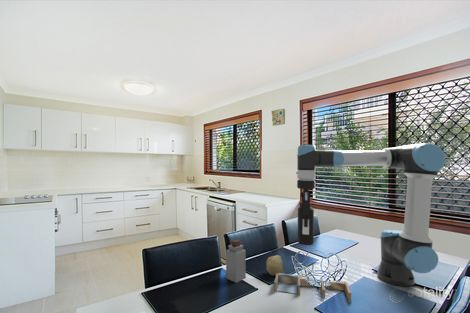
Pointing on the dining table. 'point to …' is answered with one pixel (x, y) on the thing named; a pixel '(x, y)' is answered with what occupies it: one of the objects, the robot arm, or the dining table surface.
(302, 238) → the vinegar
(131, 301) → the dining table surface
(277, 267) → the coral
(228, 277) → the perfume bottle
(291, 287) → the comb rack
